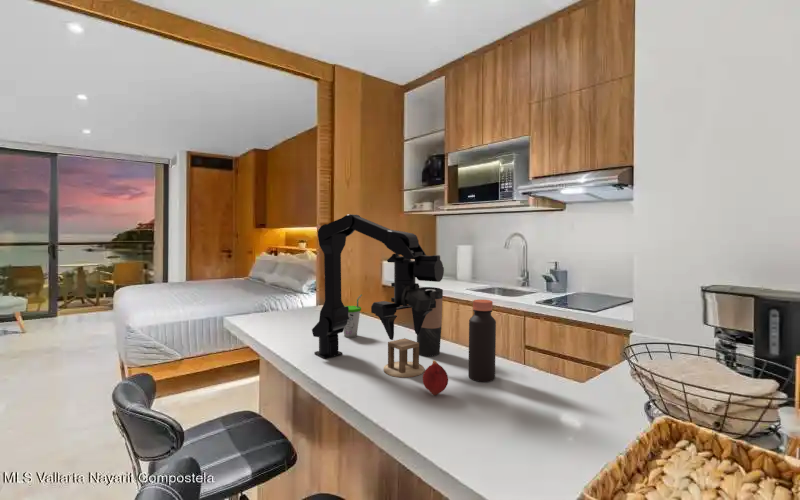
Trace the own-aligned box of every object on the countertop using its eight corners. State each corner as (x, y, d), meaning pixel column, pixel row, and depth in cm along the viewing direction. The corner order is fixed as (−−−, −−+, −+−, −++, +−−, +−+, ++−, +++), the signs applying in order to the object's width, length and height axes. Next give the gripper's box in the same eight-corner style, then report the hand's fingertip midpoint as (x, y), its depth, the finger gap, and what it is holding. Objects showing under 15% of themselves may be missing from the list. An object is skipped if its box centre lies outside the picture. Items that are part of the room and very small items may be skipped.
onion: (450, 391, 92) (450, 358, 92) (444, 401, 87) (445, 366, 87) (426, 388, 94) (426, 355, 94) (419, 397, 89) (419, 363, 88)
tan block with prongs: (387, 367, 107) (388, 341, 107) (404, 362, 111) (404, 338, 111) (402, 373, 103) (402, 346, 102) (418, 368, 106) (419, 342, 106)
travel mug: (442, 350, 124) (445, 288, 123) (436, 358, 117) (439, 292, 116) (419, 347, 127) (422, 286, 126) (412, 354, 120) (415, 289, 119)
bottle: (497, 375, 103) (498, 299, 102) (492, 384, 97) (493, 304, 96) (472, 371, 106) (473, 298, 105) (465, 379, 100) (466, 302, 99)
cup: (336, 338, 139) (336, 296, 138) (343, 332, 146) (343, 292, 146) (358, 339, 137) (358, 296, 137) (363, 333, 145) (363, 293, 144)
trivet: (375, 369, 108) (375, 366, 107) (405, 360, 115) (405, 358, 115) (401, 380, 99) (401, 378, 99) (432, 371, 106) (432, 368, 106)
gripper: (397, 285, 93) (397, 350, 94) (450, 279, 106) (450, 337, 106) (369, 281, 102) (370, 340, 103) (422, 276, 114) (422, 329, 115)
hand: (404, 336), depth 106 cm, fingers open, 9 cm apart
